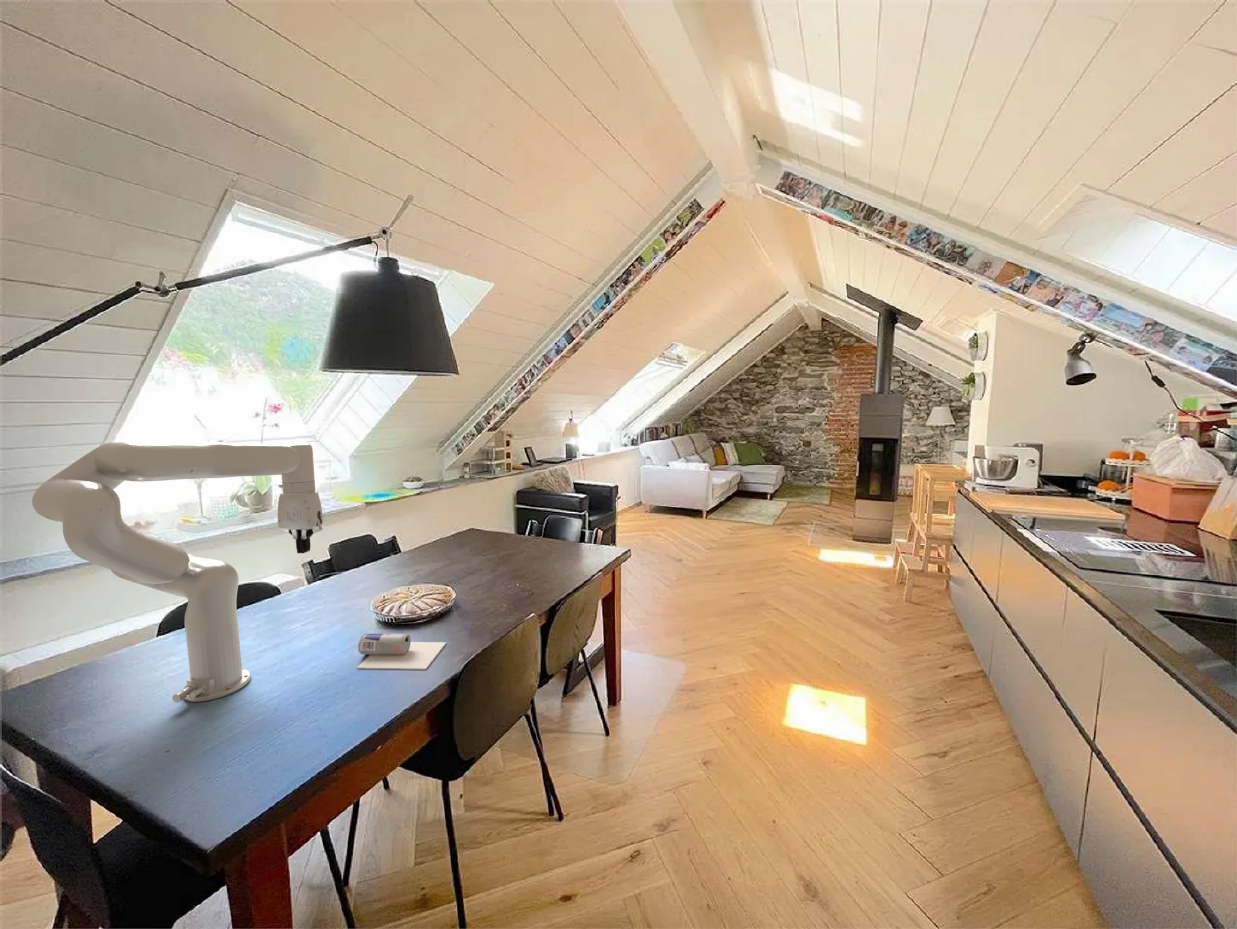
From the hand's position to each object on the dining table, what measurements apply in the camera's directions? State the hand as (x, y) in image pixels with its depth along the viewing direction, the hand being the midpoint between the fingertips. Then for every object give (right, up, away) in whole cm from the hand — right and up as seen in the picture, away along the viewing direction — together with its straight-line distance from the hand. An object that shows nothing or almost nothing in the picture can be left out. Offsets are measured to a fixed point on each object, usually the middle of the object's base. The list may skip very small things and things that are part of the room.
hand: (303, 551), depth 135 cm
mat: (+30, -28, -3) cm, 41 cm away
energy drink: (+18, -25, -3) cm, 31 cm away
